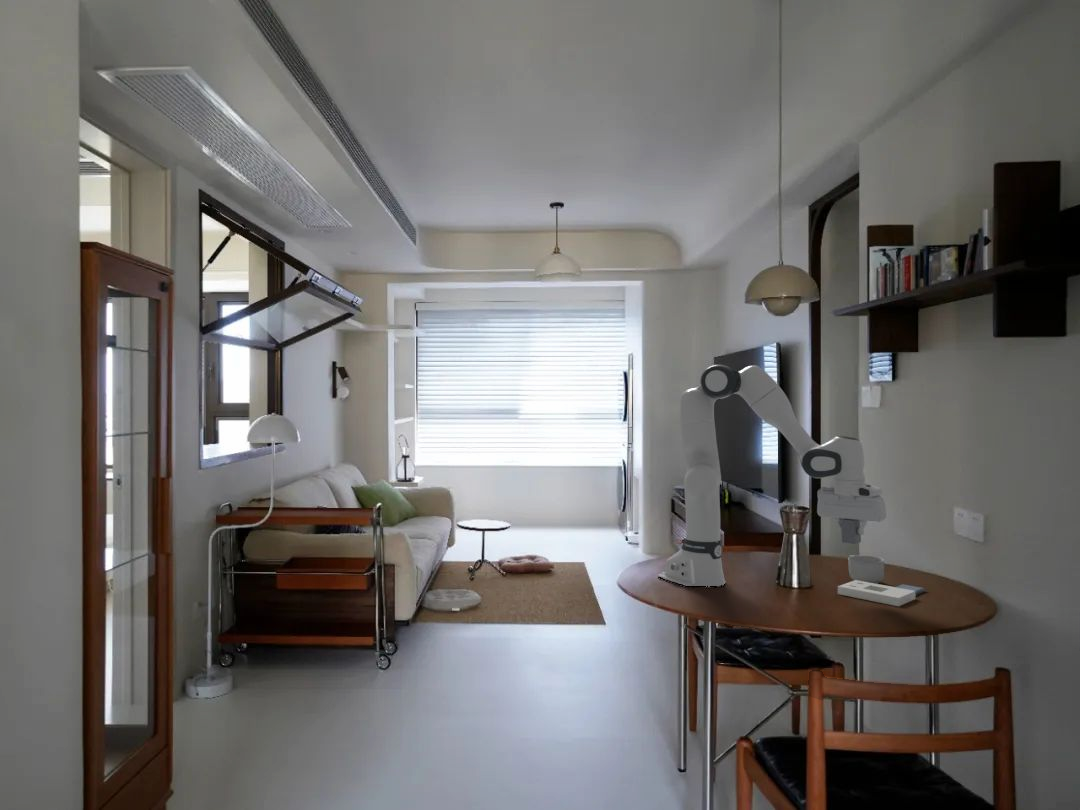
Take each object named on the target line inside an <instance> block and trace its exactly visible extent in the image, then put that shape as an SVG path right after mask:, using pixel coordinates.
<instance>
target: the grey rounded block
mask: <svg viewBox="0 0 1080 810" xmlns="http://www.w3.org/2000/svg"><path fill="white" fill-rule="evenodd" d="M847 560H848V562H847V563H848V572H849V573H848V574H849V577H850V578H851V579H852V581H854V580H858V581H864V582H869V583H875V584H879V583H880V582H881V581H882V580H883V579H884V575H885V559H884V558H882V557H880V556H873V555H867V554H866V555H861V554H860V555H854V554H851V555H849V556H848V558H847Z"/></svg>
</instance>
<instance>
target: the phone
mask: <svg viewBox="0 0 1080 810" xmlns="http://www.w3.org/2000/svg"><path fill="white" fill-rule="evenodd" d="M895 587H896V588H902V589H907V590H913V591H915V597H916V596H918V595H920V594H923V593H925V592H926V588H925V587H921V586H916V585H909V584H904V583H903V584H902V583H901V584H899V585H896V586H895Z"/></svg>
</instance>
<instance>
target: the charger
mask: <svg viewBox="0 0 1080 810" xmlns="http://www.w3.org/2000/svg"><path fill="white" fill-rule="evenodd" d="M860 526H861V524H860V521H859V520H854V519H843V518H842V520H841V527H842V533H841V542H842V543H843V544H845V543H846V544H854V545H857V544H859V543H861V542H862V535H857V534H856V532H857V531H856V529H858V528H860Z"/></svg>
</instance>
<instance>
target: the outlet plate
mask: <svg viewBox="0 0 1080 810" xmlns="http://www.w3.org/2000/svg"><path fill="white" fill-rule="evenodd" d="M837 595H840V596H846V597H851V598H856V599H861V600H865V601H870V602H875V603H881V604H885V605H890V606H895V607H900V606H903V605H905V604H907V603H909V602H912V601H914V600H916V596H915V591H913V590H907V589H902V588H896V586H890V585H886V584H885V585H884V584H881V583H880V584H879V583H877V584H875V583H869V582H864V581H858V580H851V581H848V582H847V583H843V584H841V585H837Z"/></svg>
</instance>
